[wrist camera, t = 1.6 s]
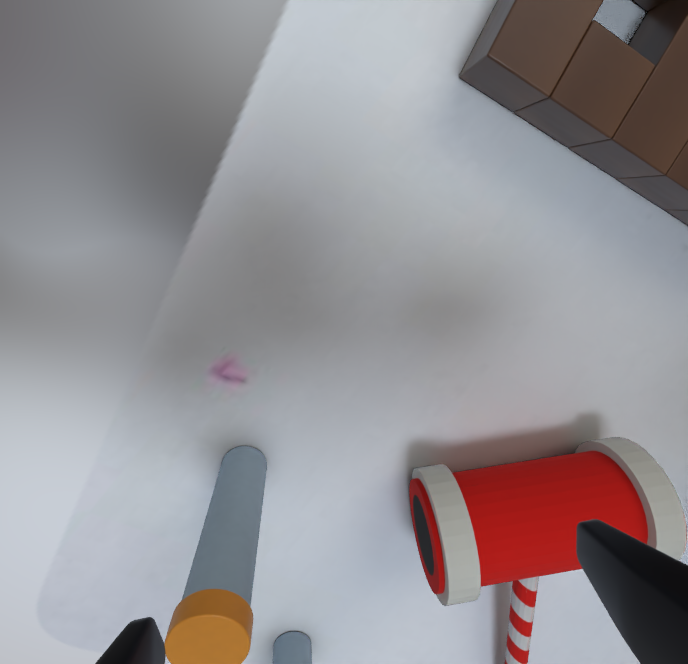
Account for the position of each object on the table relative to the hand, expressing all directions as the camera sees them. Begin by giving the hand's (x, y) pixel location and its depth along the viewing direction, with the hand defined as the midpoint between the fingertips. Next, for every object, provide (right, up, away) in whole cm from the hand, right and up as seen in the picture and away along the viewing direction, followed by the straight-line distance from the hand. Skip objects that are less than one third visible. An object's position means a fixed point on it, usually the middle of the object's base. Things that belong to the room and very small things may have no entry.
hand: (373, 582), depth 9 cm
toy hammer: (+10, -9, +18) cm, 23 cm away
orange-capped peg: (-6, -2, +14) cm, 16 cm away
